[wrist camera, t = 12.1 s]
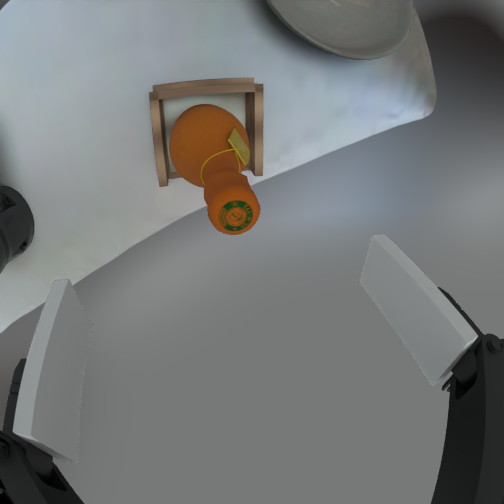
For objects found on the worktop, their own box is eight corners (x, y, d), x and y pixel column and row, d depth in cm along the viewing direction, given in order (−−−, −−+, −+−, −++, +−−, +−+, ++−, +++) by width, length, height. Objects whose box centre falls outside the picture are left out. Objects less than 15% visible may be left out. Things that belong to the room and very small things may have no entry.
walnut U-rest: (253, 168, 47) (263, 181, 42) (162, 178, 44) (159, 193, 39) (252, 77, 38) (263, 77, 33) (153, 85, 35) (147, 85, 30)
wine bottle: (230, 161, 45) (296, 276, 21) (171, 161, 42) (160, 284, 18) (236, 103, 39) (326, 145, 15) (173, 101, 37) (152, 136, 13)
